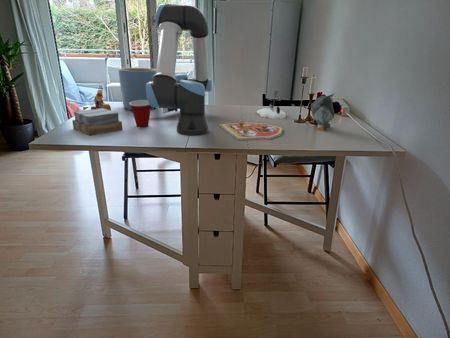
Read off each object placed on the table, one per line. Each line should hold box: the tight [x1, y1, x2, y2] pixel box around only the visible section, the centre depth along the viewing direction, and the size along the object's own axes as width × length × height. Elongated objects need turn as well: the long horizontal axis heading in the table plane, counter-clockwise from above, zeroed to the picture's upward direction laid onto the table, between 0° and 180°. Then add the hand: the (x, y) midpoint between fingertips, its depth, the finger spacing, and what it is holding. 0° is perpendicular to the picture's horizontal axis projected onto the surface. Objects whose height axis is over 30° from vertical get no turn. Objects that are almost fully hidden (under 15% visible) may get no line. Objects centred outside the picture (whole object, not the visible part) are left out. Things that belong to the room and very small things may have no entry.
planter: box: [117, 67, 157, 111], centre depth 191 cm, size 23×23×24 cm
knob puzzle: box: [218, 120, 283, 141], centre depth 151 cm, size 29×30×4 cm
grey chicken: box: [310, 93, 335, 131], centre depth 158 cm, size 14×15×18 cm
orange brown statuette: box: [90, 89, 112, 111], centre depth 165 cm, size 8×21×14 cm, turn 39°
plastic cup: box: [129, 100, 151, 128], centre depth 150 cm, size 11×11×12 cm
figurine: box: [256, 89, 287, 120], centre depth 185 cm, size 20×18×16 cm
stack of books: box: [71, 108, 124, 137], centre depth 142 cm, size 16×16×8 cm
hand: (152, 109), depth 158 cm, fingers open, 13 cm apart
